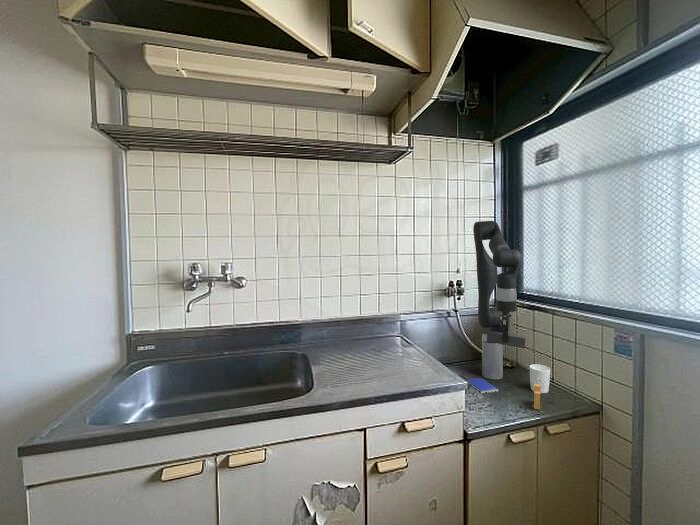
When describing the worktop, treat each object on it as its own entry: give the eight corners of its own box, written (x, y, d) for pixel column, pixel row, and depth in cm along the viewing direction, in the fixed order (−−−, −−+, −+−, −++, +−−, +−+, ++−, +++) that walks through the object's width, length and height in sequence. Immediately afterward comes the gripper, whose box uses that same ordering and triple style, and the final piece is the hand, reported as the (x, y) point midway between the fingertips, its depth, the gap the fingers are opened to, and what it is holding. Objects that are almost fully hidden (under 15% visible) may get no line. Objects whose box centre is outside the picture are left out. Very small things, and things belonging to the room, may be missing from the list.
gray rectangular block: (482, 339, 142) (483, 329, 142) (524, 346, 134) (525, 336, 134) (481, 340, 139) (482, 331, 139) (524, 348, 131) (525, 338, 131)
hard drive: (498, 388, 145) (481, 377, 157) (481, 390, 143) (466, 379, 155) (498, 392, 145) (481, 381, 157) (481, 394, 143) (466, 382, 155)
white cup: (553, 391, 144) (554, 368, 143) (543, 395, 140) (544, 372, 139) (535, 384, 151) (535, 363, 150) (525, 389, 146) (525, 366, 146)
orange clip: (534, 401, 134) (534, 381, 134) (540, 402, 133) (540, 382, 133) (534, 408, 129) (534, 387, 128) (540, 409, 128) (540, 388, 127)
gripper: (515, 302, 127) (514, 347, 128) (517, 297, 139) (517, 337, 140) (494, 301, 131) (493, 344, 132) (498, 295, 143) (497, 335, 144)
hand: (505, 340), depth 136 cm, fingers closed on gray rectangular block, 3 cm apart
